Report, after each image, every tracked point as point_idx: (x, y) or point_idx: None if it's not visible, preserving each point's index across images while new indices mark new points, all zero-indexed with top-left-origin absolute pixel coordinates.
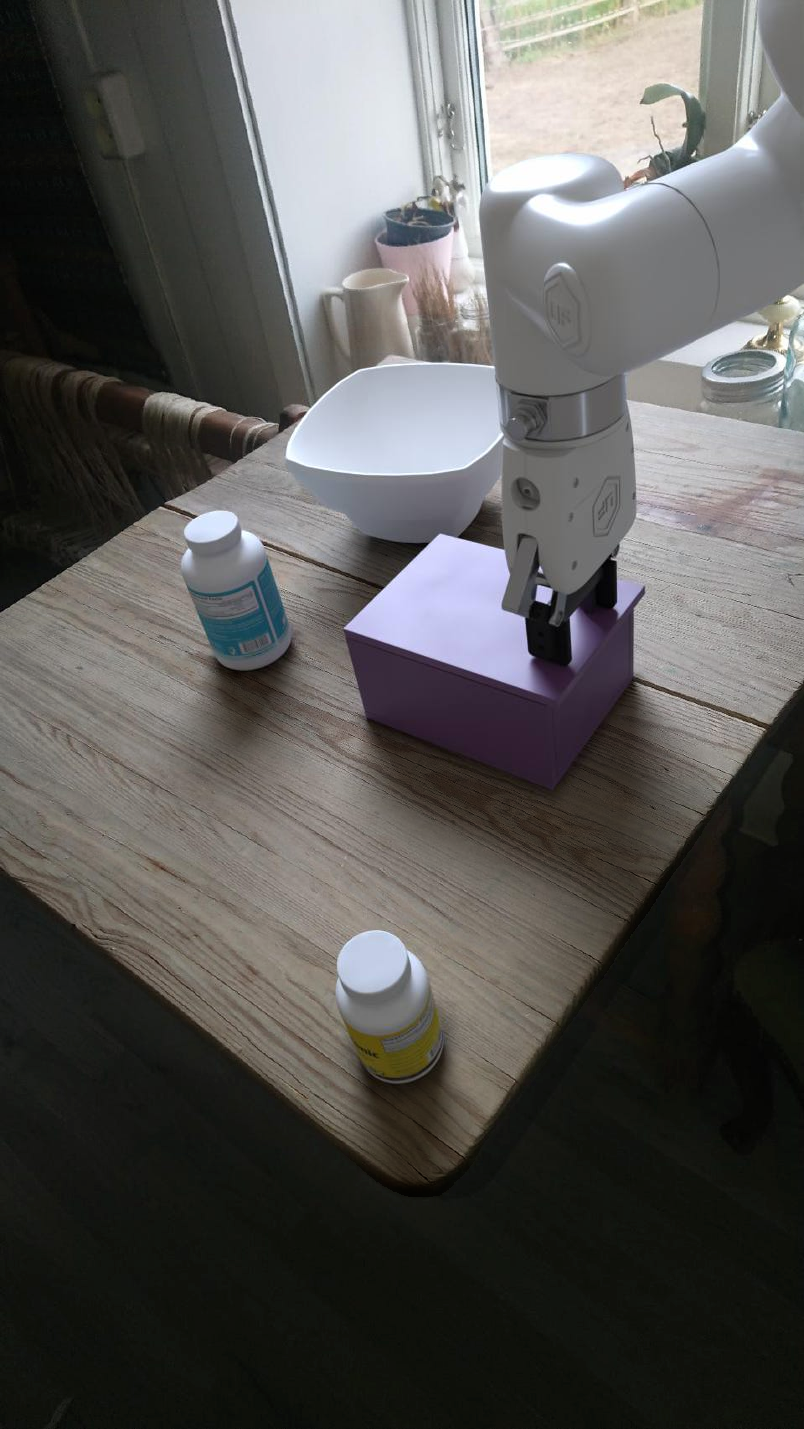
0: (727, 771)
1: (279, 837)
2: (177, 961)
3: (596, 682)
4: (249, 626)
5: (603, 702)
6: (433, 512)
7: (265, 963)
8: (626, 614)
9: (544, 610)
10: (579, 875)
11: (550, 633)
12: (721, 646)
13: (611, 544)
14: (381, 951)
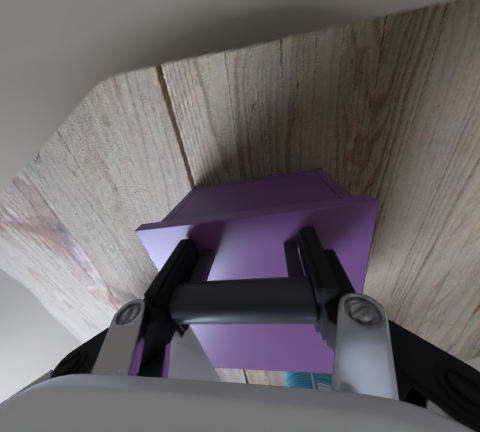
0: (222, 53)
1: (434, 276)
2: None
3: (243, 198)
4: (323, 373)
5: (236, 187)
6: (189, 357)
7: None
8: (182, 221)
9: (452, 380)
10: (402, 86)
11: (352, 286)
12: (123, 156)
13: None
14: None
